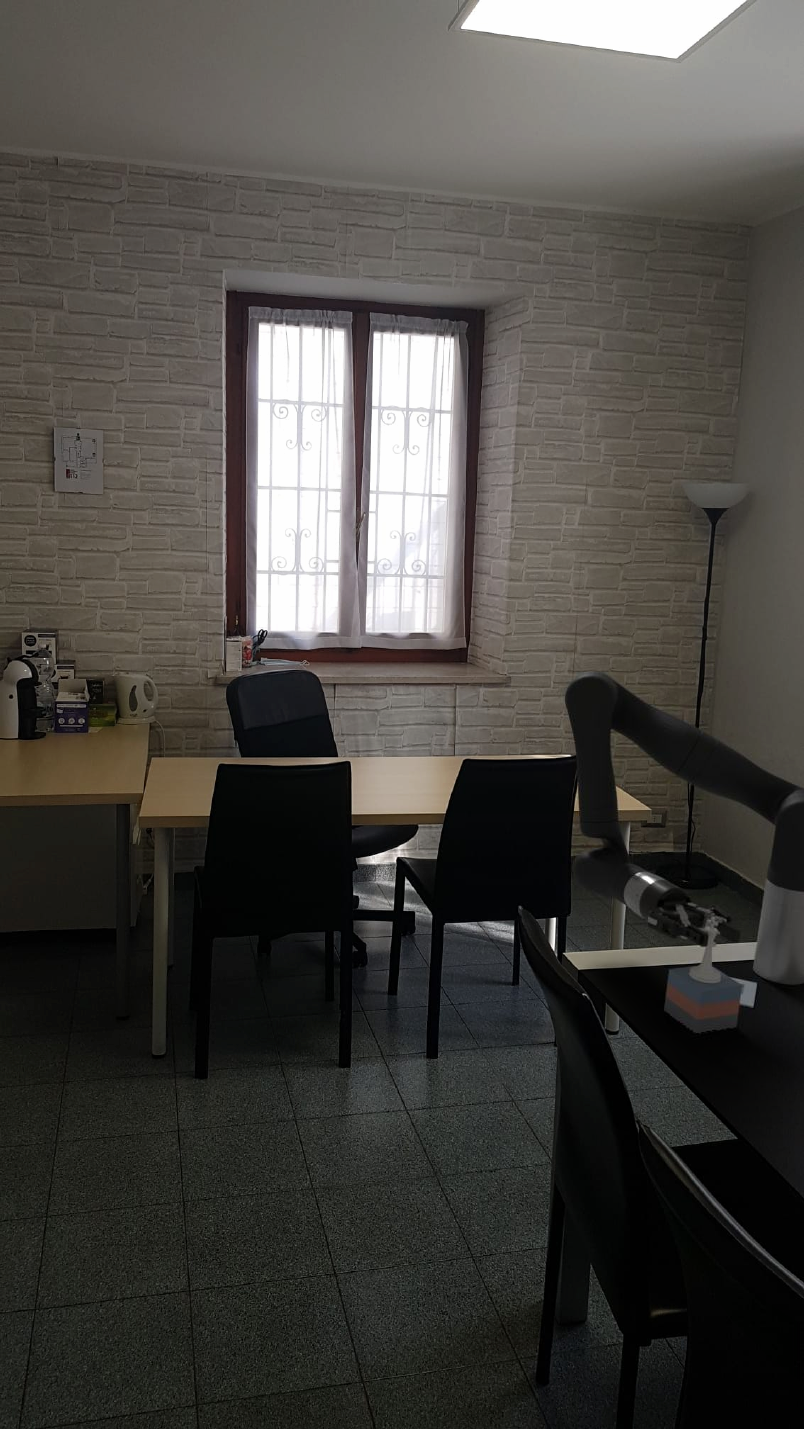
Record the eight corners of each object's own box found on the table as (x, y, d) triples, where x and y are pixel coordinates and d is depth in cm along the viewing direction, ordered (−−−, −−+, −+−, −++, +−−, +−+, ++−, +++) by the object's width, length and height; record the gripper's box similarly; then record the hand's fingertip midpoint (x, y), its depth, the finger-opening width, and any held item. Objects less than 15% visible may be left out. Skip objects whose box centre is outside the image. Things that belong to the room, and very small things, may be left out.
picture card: (715, 975, 188) (715, 973, 188) (756, 984, 186) (757, 982, 186) (709, 998, 179) (710, 995, 179) (753, 1008, 177) (753, 1005, 177)
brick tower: (663, 1010, 173) (669, 969, 172) (703, 1004, 177) (709, 964, 175) (695, 1033, 166) (701, 991, 165) (736, 1027, 170) (742, 985, 168)
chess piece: (713, 986, 167) (722, 926, 165) (683, 976, 170) (692, 916, 168) (725, 977, 171) (734, 918, 169) (696, 967, 174) (704, 909, 172)
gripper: (623, 882, 178) (688, 920, 163) (693, 876, 184) (761, 912, 169) (618, 924, 179) (682, 966, 164) (687, 917, 185) (755, 957, 170)
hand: (722, 939), depth 166 cm, fingers open, 5 cm apart
